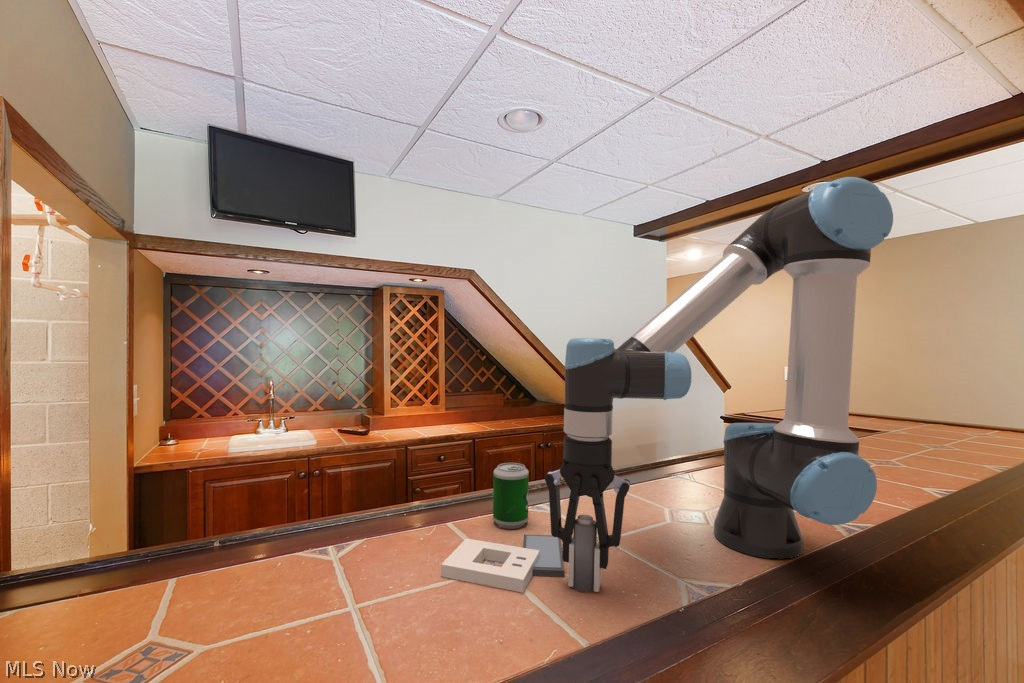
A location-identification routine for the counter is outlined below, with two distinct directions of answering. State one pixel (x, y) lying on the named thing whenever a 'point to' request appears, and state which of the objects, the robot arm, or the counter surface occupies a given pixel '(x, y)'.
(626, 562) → the counter surface
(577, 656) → the counter surface
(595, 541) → the plug
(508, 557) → the outlet
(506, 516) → the soda can
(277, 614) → the counter surface
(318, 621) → the counter surface
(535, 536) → the phone
